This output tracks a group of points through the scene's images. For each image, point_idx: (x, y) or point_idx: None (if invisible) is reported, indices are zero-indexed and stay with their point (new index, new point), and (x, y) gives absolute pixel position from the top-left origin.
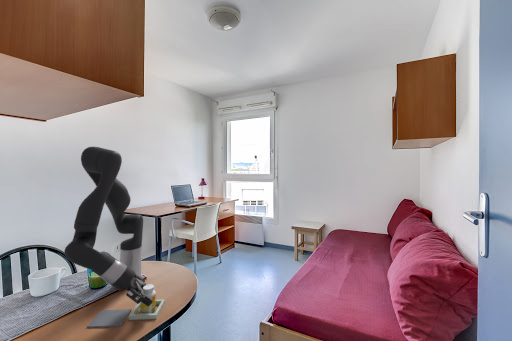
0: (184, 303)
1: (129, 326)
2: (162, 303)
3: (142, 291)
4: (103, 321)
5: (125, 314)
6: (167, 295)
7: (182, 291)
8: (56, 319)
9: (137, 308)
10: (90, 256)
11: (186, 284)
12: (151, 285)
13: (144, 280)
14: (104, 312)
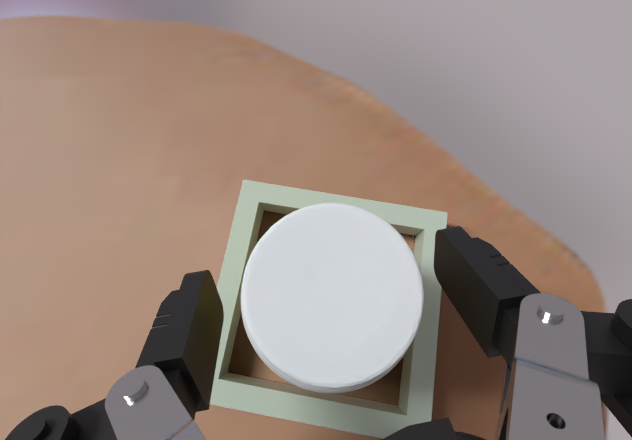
0: (292, 64)
1: (499, 403)
2: (302, 190)
3: (527, 362)
4: None
5: None
6: (148, 184)
7: (129, 84)
8: None
9: (310, 394)
10: None
11: (34, 63)
12: (291, 247)
13: (38, 426)
14: None
